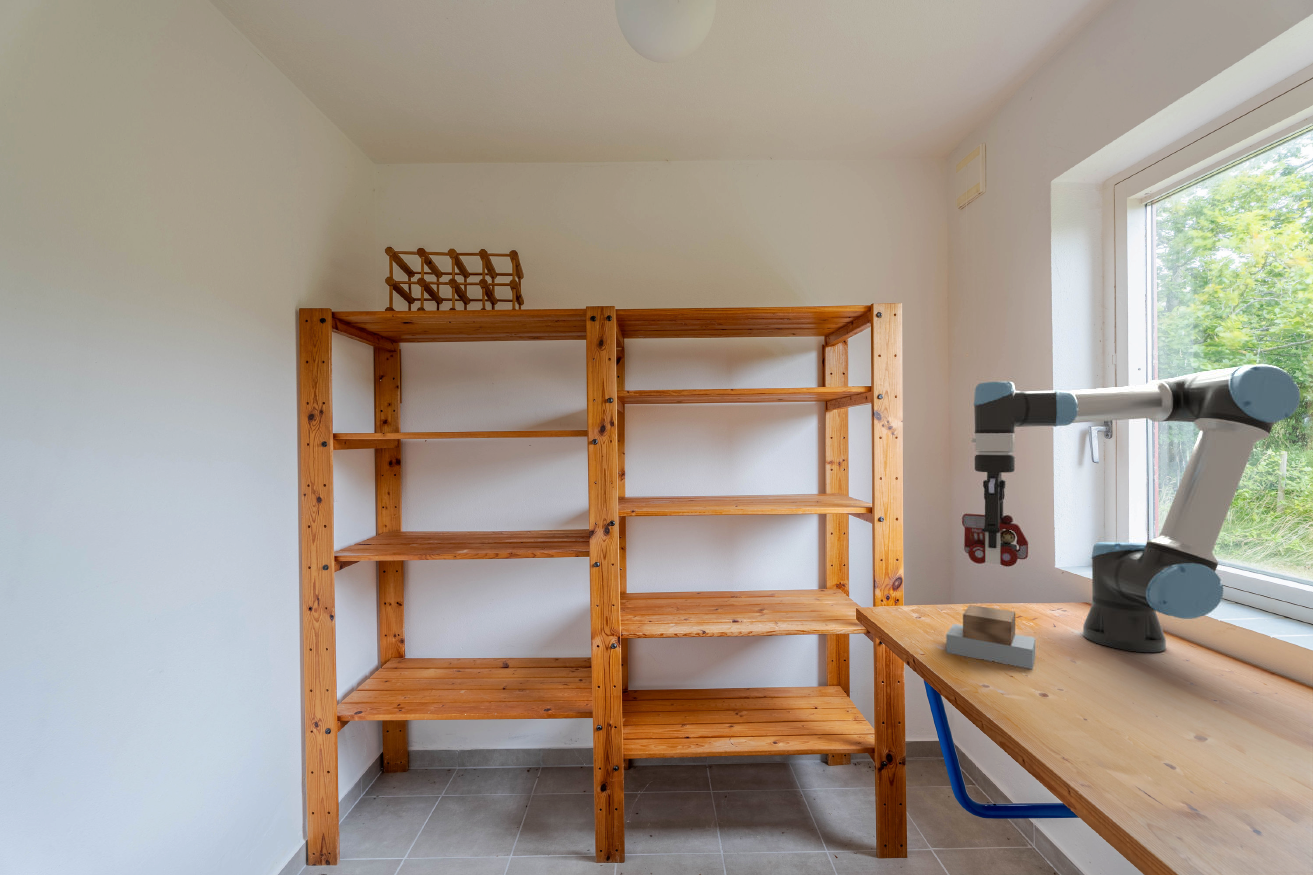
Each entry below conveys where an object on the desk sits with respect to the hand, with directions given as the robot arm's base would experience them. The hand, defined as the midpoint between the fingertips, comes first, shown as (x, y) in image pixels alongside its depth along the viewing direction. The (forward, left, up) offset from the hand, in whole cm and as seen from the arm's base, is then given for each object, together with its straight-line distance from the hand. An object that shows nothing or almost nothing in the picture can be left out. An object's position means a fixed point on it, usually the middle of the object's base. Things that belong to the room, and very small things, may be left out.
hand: (994, 559), depth 128 cm
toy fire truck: (0, 0, -1) cm, 1 cm away
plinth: (+1, -1, -21) cm, 21 cm away
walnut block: (+1, -1, -17) cm, 17 cm away
